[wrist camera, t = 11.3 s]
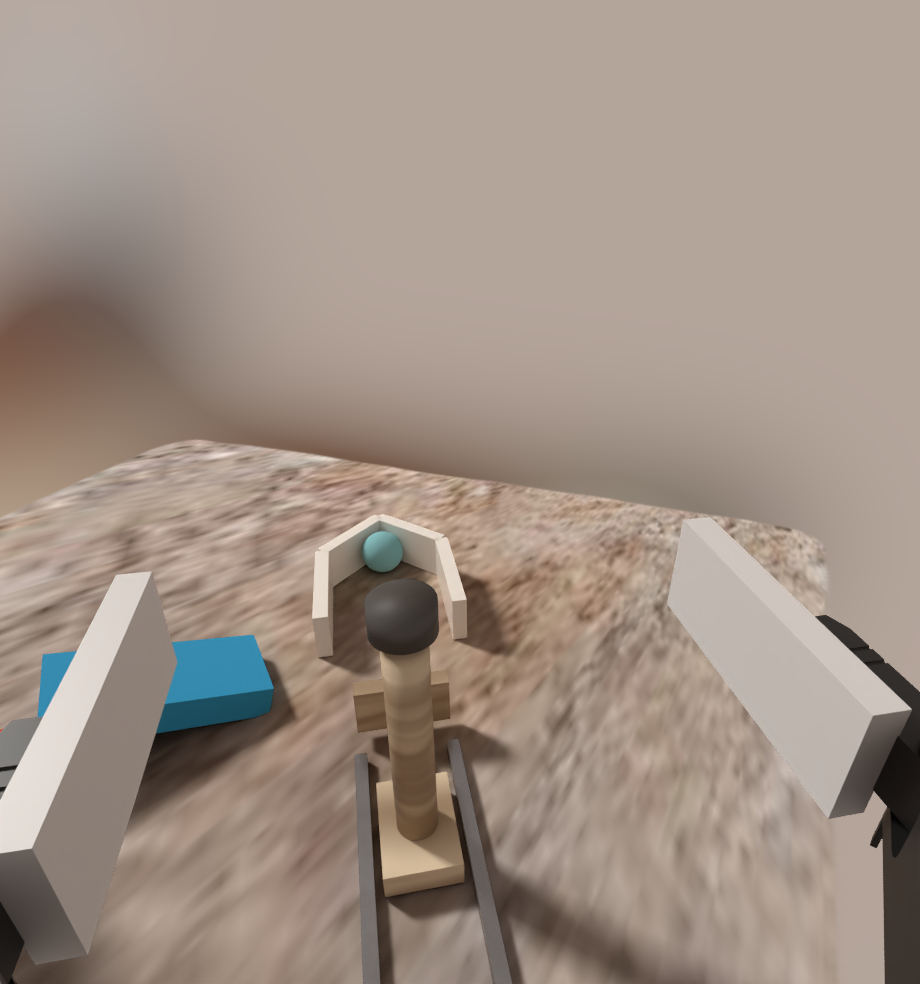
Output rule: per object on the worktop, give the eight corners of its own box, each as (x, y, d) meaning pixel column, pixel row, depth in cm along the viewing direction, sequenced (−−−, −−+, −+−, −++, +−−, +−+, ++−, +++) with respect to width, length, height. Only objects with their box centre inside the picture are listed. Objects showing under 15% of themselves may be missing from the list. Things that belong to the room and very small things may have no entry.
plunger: (482, 878, 35) (481, 632, 27) (366, 900, 34) (330, 652, 26) (447, 714, 45) (440, 503, 38) (358, 728, 45) (331, 514, 37)
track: (530, 1077, 27) (531, 1069, 27) (369, 1117, 26) (367, 1108, 26) (458, 746, 43) (458, 738, 43) (355, 763, 42) (354, 754, 42)
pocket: (467, 637, 53) (466, 599, 51) (318, 657, 51) (312, 618, 50) (439, 540, 67) (438, 508, 65) (321, 553, 65) (316, 520, 63)
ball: (352, 545, 60) (354, 564, 63) (384, 568, 59) (386, 586, 62) (379, 516, 62) (380, 536, 65) (411, 538, 61) (411, 557, 64)
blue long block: (243, 704, 53) (-22, 744, 44) (253, 634, 51) (-24, 660, 42) (262, 763, 48) (-36, 823, 39) (274, 688, 46) (-40, 732, 36)
